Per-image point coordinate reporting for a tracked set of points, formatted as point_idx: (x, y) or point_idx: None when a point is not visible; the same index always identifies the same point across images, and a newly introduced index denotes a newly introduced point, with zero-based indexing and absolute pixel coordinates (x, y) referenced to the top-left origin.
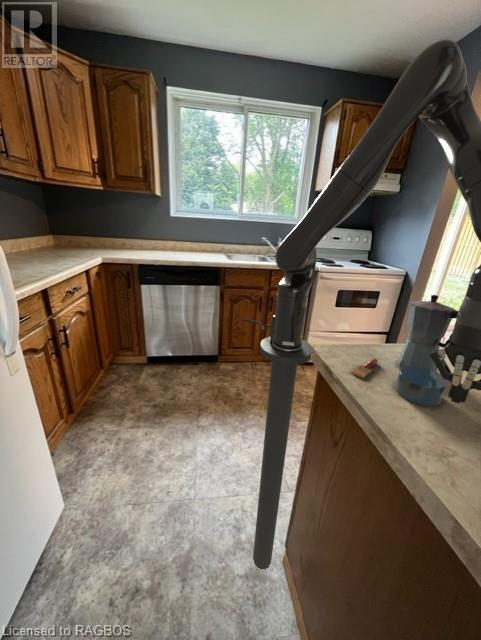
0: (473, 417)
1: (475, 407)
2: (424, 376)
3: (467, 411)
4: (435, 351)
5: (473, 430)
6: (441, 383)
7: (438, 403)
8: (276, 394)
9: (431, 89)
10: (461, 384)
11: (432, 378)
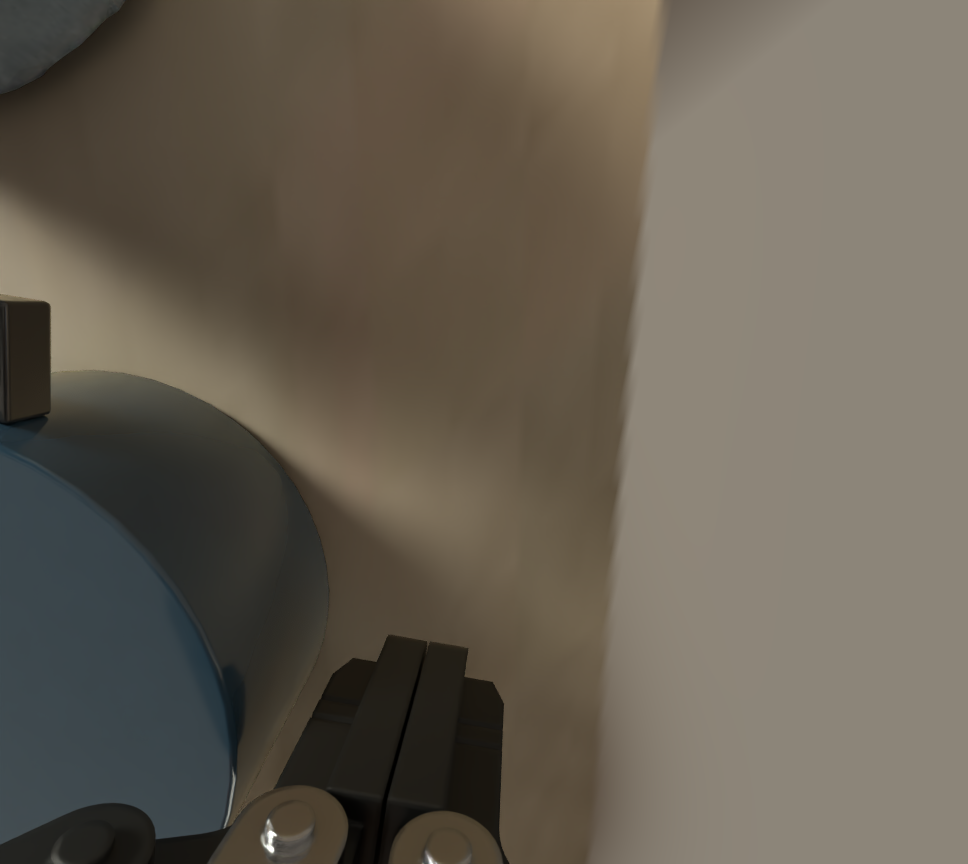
0: (590, 661)
1: (622, 458)
2: None
3: (548, 592)
4: None
5: (576, 847)
6: (168, 773)
7: (308, 676)
8: None
9: None
10: (381, 812)
11: (35, 708)
